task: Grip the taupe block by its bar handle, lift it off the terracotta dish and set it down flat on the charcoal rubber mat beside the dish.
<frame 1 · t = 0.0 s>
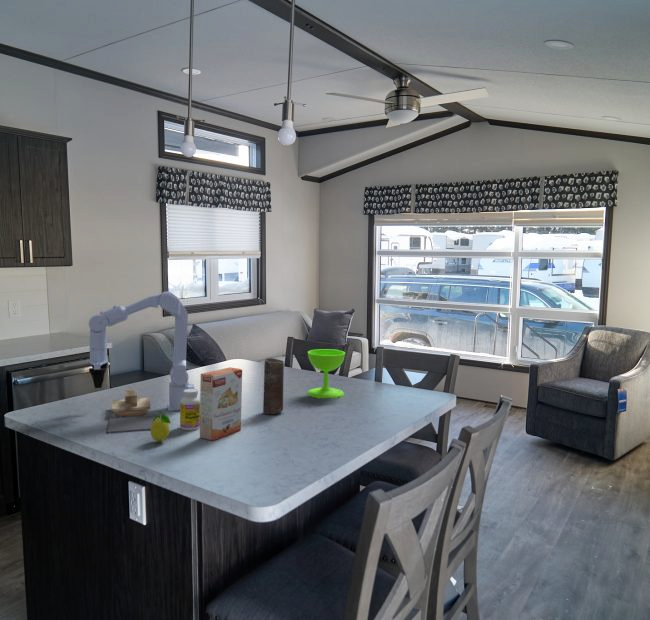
hand: (99, 385, 198), 10 cm above the countertop, tool pointing down, fingers open, 7 cm apart
supplement bottle: (190, 428, 184), on the countertop
terracotta dish: (131, 412, 201), on the countertop
candle: (273, 413, 204), on the countertop
cracker box: (221, 434, 179), on the countertop
wineglass: (325, 394, 234), on the countertop
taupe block: (131, 405, 200), point 3 cm above the countertop, touching terracotta dish
lemon: (160, 442, 170), on the countertop
charcoal mat: (133, 424, 187), on the countertop
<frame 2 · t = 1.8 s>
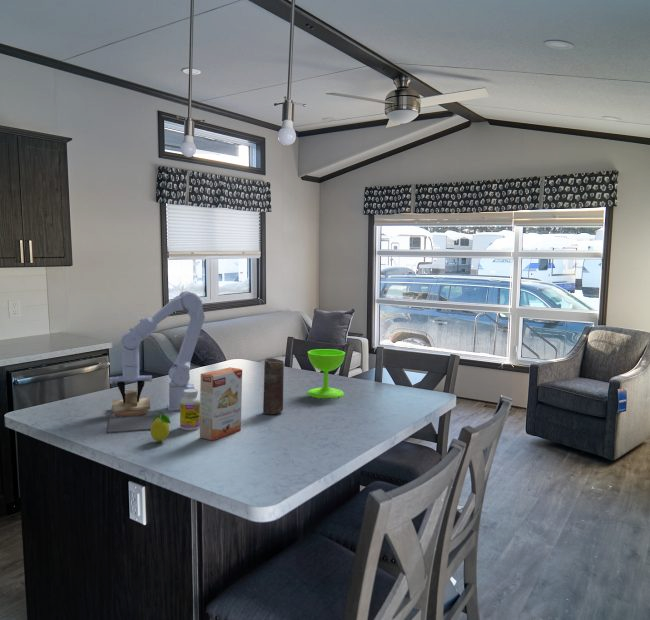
hand: (131, 401, 200), 4 cm above the countertop, tool pointing down, fingers closed on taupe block, 4 cm apart
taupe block: (131, 405, 200), point 3 cm above the countertop, touching gripper, terracotta dish
everything else where it was.
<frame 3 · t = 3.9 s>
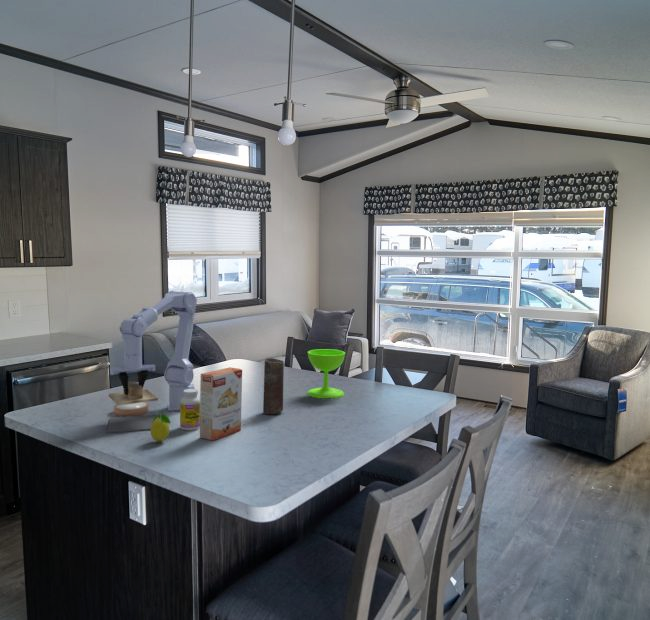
hand: (133, 393, 187), 10 cm above the countertop, tool pointing down, fingers closed on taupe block, 4 cm apart
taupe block: (132, 398, 187), point 9 cm above the countertop, touching gripper
everything else where it was.
when the fingers open (3 cm above the countertop, at t = 5.8 s): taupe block stays where it is, resting on charcoal mat.
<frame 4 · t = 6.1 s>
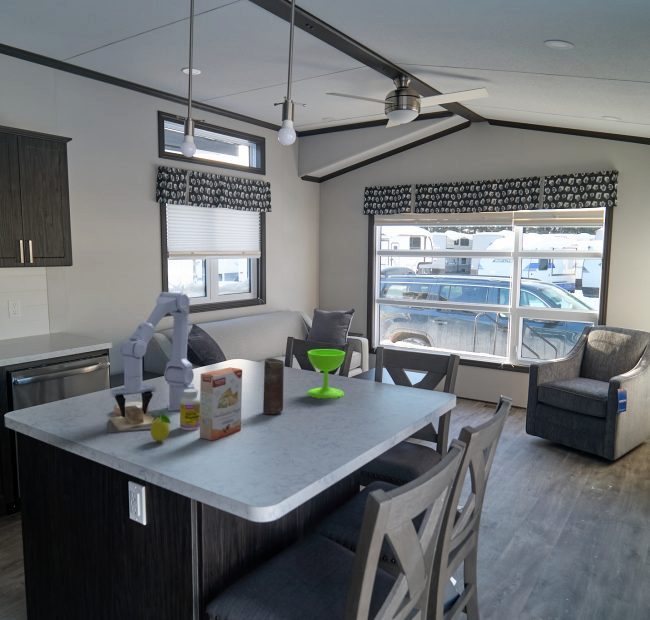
hand: (133, 414, 187), 3 cm above the countertop, tool pointing down, fingers open, 6 cm apart
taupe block: (133, 422, 187), resting on charcoal mat
everything else where it was.
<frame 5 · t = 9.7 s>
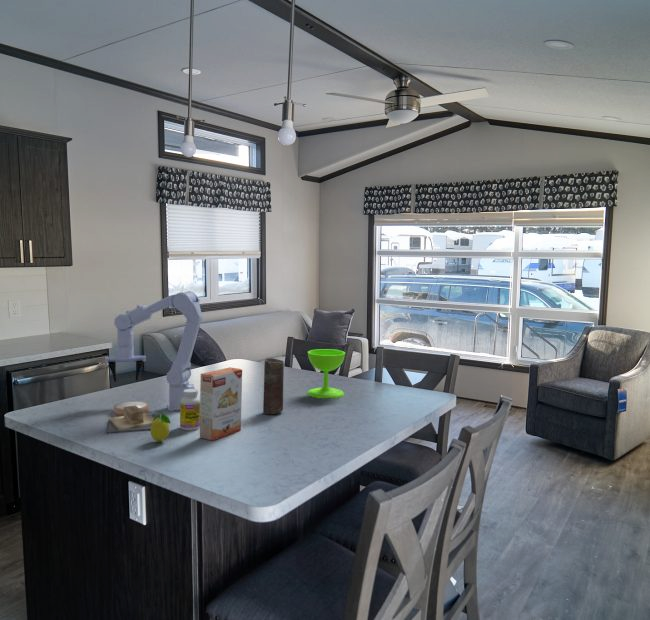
hand: (126, 380, 210), 9 cm above the countertop, tool pointing down, fingers open, 7 cm apart
nothing on the countertop moved.
at the end: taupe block inside the target area on the charcoal mat (0.4 cm from its centre), point 0.5 cm above the charcoal mat's base; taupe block touching charcoal mat; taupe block tilted 0° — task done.
